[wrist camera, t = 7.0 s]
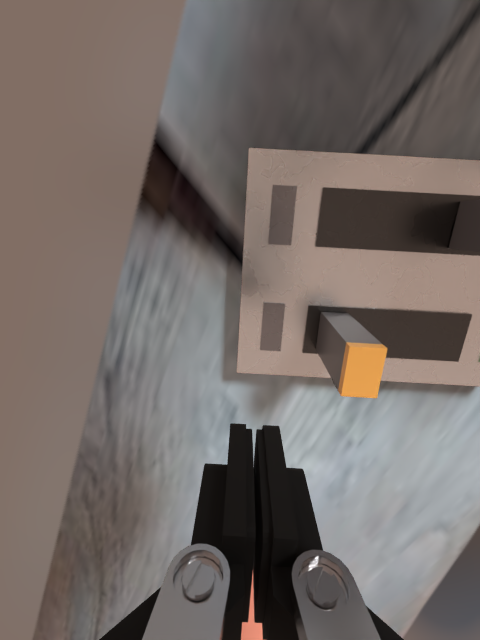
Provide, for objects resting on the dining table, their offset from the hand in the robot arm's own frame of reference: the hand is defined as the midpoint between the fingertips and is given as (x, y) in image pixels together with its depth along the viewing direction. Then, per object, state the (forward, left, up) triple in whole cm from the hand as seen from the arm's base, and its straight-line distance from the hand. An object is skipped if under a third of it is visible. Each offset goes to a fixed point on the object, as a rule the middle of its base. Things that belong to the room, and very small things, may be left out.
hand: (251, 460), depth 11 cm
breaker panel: (-4, +10, -16) cm, 19 cm away
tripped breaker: (0, +6, -13) cm, 15 cm away
